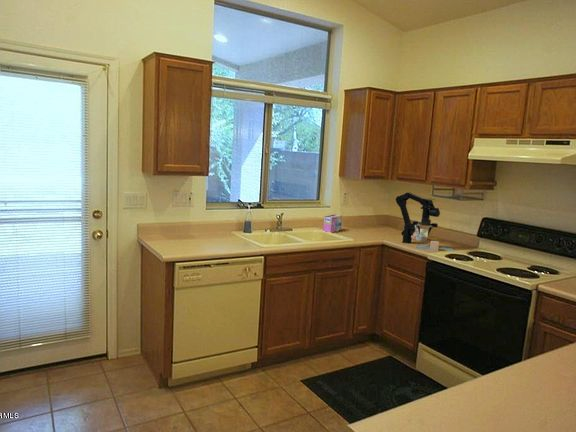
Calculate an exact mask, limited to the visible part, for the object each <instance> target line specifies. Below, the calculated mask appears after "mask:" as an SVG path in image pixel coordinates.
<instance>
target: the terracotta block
mask: <svg viewBox="0 0 576 432" xmlns="http://www.w3.org/2000/svg"><path fill="white" fill-rule="evenodd" d="M429 246H430V250H429V251H433V250H436V251H435V252H439V248H440V247H439V246H440V241H436V240H430V243H429ZM438 247H439V248H438Z"/></svg>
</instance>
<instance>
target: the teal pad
mask: <svg viewBox="0 0 576 432" xmlns="http://www.w3.org/2000/svg"><path fill="white" fill-rule="evenodd" d="M440 250H445V251H454V248H451V247H450V248H449V247H443V246H441V247H440Z"/></svg>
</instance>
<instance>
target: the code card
mask: <svg viewBox="0 0 576 432" xmlns="http://www.w3.org/2000/svg"><path fill="white" fill-rule="evenodd" d="M439 248H440V247H438V249H439ZM415 249H419V250H427V251H431V250H430V245H428V244H427V245H426V244H420V243H418V244H417V245H416V248H415ZM433 251H434V252H437V251H436V250H432V252H433Z"/></svg>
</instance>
